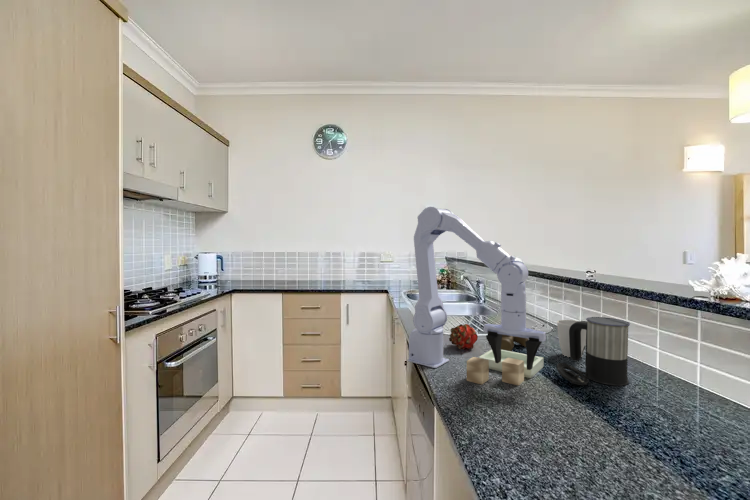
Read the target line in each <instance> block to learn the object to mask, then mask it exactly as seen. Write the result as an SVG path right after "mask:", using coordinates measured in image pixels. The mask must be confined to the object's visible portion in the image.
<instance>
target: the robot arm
mask: <svg viewBox="0 0 750 500" xmlns="http://www.w3.org/2000/svg"><path fill="white" fill-rule="evenodd" d="M445 232H450V233H453V234H455V235H456V236H458V237H459V238H460V239H461V240H463V241H464V242H465V243H466V244H467V245H469V246H470V247H472V248H473V249H474V250H475V251H476V253H475V254H476V258H477V259H478V260H480V262H481V263H483V264H484V266H486V267H487V268H488V269H490V270H491V272H493V273H494V274H496V276H497V279H498V281H499V283H500V284H501V285H500V287H501V289H500V290H501V291H500V324H495V323H494V324H493V323H485V324H483V333H487V334H486V336H485V339H486V340H487V342H488V344H489V345H490V348H491V349H492V351H493V354H494V358H495V363H499V362H501V342H502V335H509V336H515V337H521V338H528V340H527V341H526V342H525V344H526V347H525V349H526V354H527V370H531V369H532V367H533V362H534V358H535V356H537V352H538V350H539V348H540V346H541V344H542V343H544V342H545V341H546V340H547V332H546V331H542V330H537V329H533V328H528V327H527V292H526V281H527V279H528V277H529V269H528V267H527V265H525V263H524V262H523V261H520V260H516V257H515V255H510V254H509V253H508V252H507V251H506V250H504V249H503V248H502V247H501V246H502V244H500V242H497V241H493V240H484V239H483V237H481V236H480V235H479V234H478V233H477V232H476V231H475V230H474V229H472V227H470V226H469V225H468V224H467V223H466V222H465V221H464V220H463V219H462V218H461V217H460V216H458V215H457V214H455V213H453V211H452V210H451V209H448V208H438V207H435V206H427V207H425V208H424V209H423V210H422V211H421V213H419V214H418V215H417V225H416V229H415V231H414V235H413V245H414V246H413V247H414V253H415V254H414V256H415V266H416V276H417V277H416V279H417V286H418V289H417V290H418V297H419V298H418V300H417V302H416V304H415V306H414V314H413V318H412V319H413V320H412V321H413V325H414V328H413V329H412V330H411V331H410V334H409V337H408V359H407V361H408V362H410V363H414V364H418V365H421V366H425V367H428V368H433V369H436V368H439V367H441V366H442V365H445V364H447V363H448V362H450V359H449V358H445V357H444V326H445V325H446V323H447V321H448V314H447V311H446V310H445V308H444V302H443V301H442V299H441V298H440V297H439V291H438V290H439V289H438V279H437V269H436V259H435V258H436V257H435V249H434V242H436V240H437V239H438V238H439V236H441V235H442V234H444V233H445Z"/></svg>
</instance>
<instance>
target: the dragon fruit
mask: <svg viewBox="0 0 750 500" xmlns="http://www.w3.org/2000/svg"><path fill="white" fill-rule="evenodd" d="M448 339H449V342H450V343H451V344H452V345H454V346H456V347H457V349H459V350H461V351H464V350H465V349H468V350H469V349H471V350H473V349H474V346H475V345H474V344H475V343H476V342H477V341H478V339H479V338H478V334H477V332H476V330H475V329H474V327H473V326H471V325H470V324H468V323H465V324H459V325H456V326H455V327H451V329H450V334H449V338H448Z"/></svg>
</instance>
